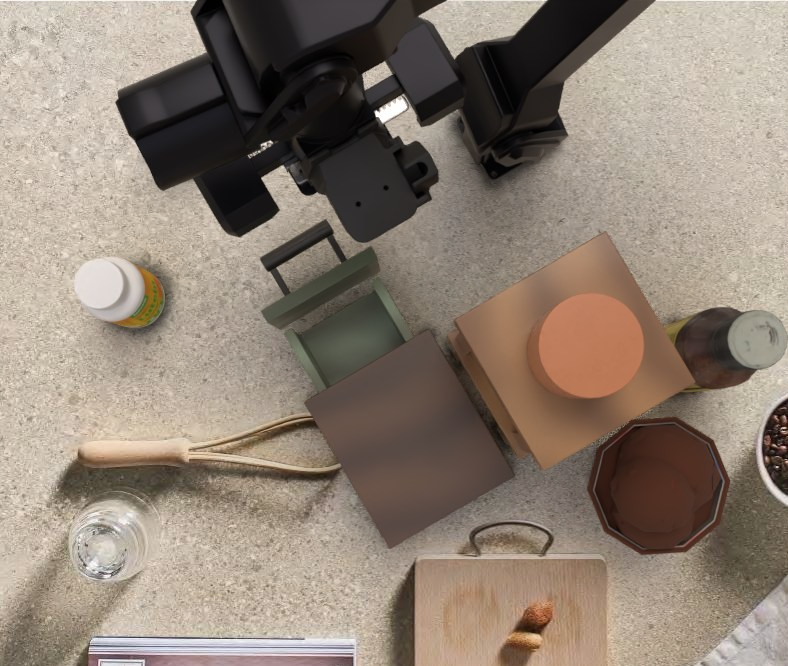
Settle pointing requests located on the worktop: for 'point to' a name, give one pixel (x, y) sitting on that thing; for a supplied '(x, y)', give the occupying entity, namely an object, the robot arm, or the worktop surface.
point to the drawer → (346, 327)
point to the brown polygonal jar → (658, 485)
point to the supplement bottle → (119, 292)
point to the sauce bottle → (727, 345)
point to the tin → (586, 347)
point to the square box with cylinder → (515, 379)
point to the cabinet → (409, 438)
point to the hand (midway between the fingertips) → (337, 162)
